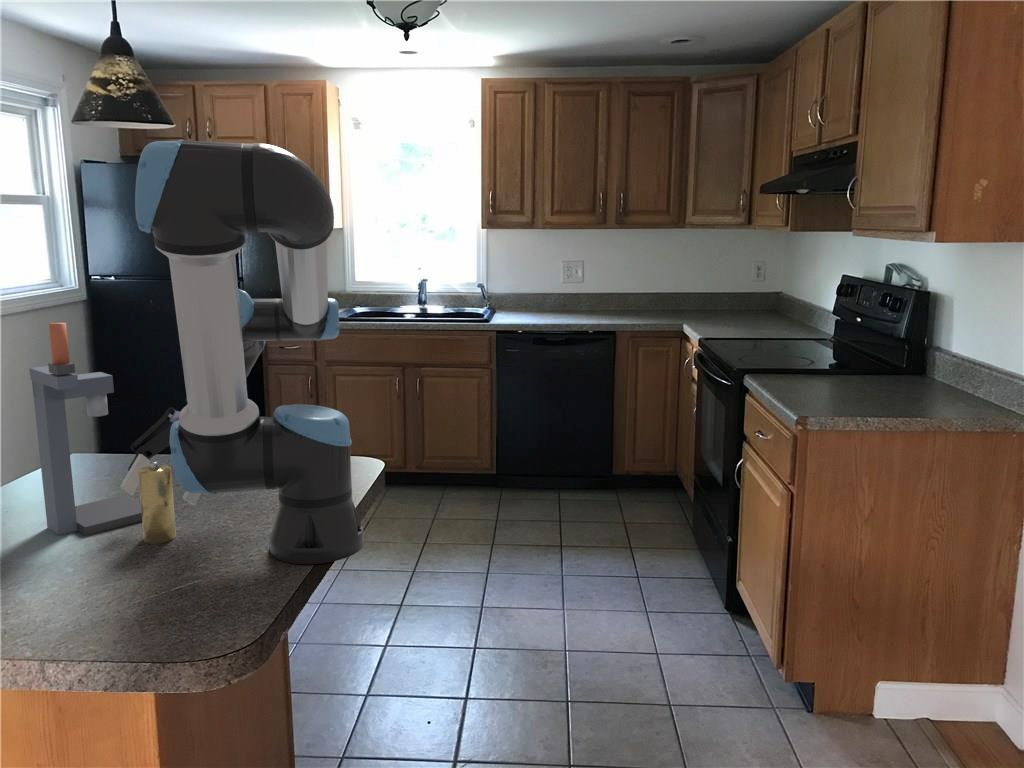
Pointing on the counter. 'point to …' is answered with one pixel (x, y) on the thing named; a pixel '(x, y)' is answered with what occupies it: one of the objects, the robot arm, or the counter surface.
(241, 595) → the counter surface
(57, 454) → the press
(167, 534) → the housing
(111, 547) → the counter surface
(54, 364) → the lever
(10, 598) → the counter surface
